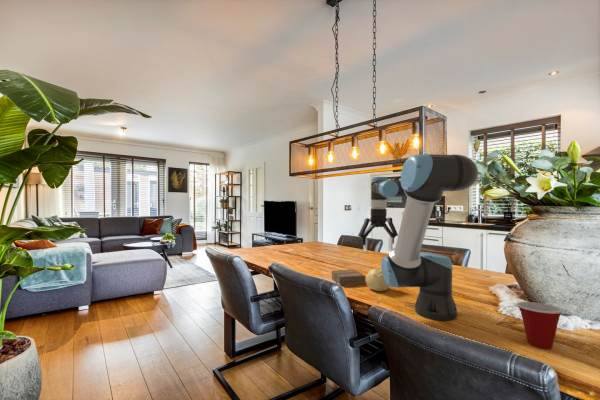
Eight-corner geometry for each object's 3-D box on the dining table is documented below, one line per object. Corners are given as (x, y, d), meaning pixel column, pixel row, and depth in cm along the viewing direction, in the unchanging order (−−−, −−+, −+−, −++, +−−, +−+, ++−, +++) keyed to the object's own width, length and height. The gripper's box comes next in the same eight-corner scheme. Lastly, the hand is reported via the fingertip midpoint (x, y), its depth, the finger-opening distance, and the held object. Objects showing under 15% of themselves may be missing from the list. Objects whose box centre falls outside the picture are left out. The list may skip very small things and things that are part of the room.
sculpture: (381, 294, 133) (381, 272, 133) (361, 288, 143) (361, 267, 143) (395, 290, 140) (395, 268, 140) (376, 284, 150) (376, 264, 150)
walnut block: (365, 285, 150) (365, 275, 150) (340, 286, 147) (340, 277, 147) (355, 278, 164) (355, 269, 164) (331, 279, 161) (331, 270, 161)
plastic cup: (544, 336, 92) (544, 299, 92) (573, 354, 82) (573, 312, 82) (509, 335, 93) (508, 298, 93) (532, 352, 83) (532, 311, 83)
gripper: (397, 207, 146) (396, 247, 147) (351, 207, 141) (351, 250, 142) (405, 208, 139) (404, 251, 140) (358, 209, 133) (357, 253, 134)
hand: (377, 250), depth 141 cm, fingers open, 13 cm apart
